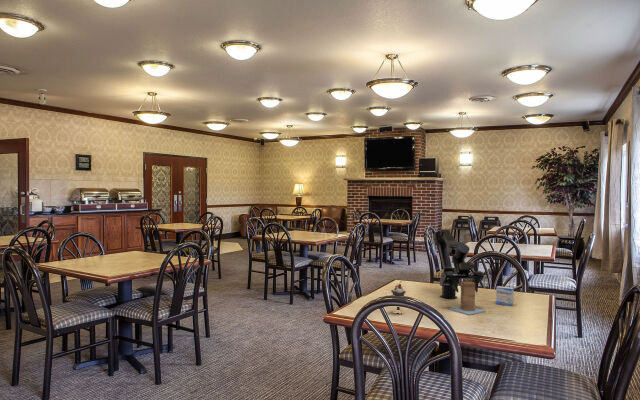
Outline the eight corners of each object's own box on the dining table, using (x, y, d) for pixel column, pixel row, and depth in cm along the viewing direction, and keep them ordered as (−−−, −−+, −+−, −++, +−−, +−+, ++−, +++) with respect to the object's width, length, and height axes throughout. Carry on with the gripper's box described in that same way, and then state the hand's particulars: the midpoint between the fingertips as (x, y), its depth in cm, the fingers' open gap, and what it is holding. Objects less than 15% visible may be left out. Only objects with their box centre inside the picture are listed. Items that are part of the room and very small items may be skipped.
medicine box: (495, 304, 233) (496, 287, 232) (496, 302, 237) (497, 285, 236) (512, 306, 229) (512, 288, 229) (513, 304, 233) (513, 287, 233)
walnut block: (460, 308, 221) (460, 281, 221) (470, 308, 222) (471, 281, 221) (464, 310, 216) (464, 283, 216) (474, 310, 217) (475, 283, 216)
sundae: (402, 315, 209) (402, 282, 209) (388, 313, 213) (389, 281, 213) (407, 312, 215) (408, 280, 215) (394, 310, 219) (394, 278, 218)
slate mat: (448, 309, 221) (448, 308, 221) (465, 306, 227) (465, 305, 227) (469, 315, 211) (469, 314, 211) (486, 311, 217) (486, 310, 217)
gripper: (445, 255, 223) (452, 282, 213) (482, 255, 224) (491, 282, 214) (439, 268, 232) (446, 295, 221) (476, 268, 232) (484, 295, 222)
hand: (467, 292), depth 219 cm, fingers open, 9 cm apart
